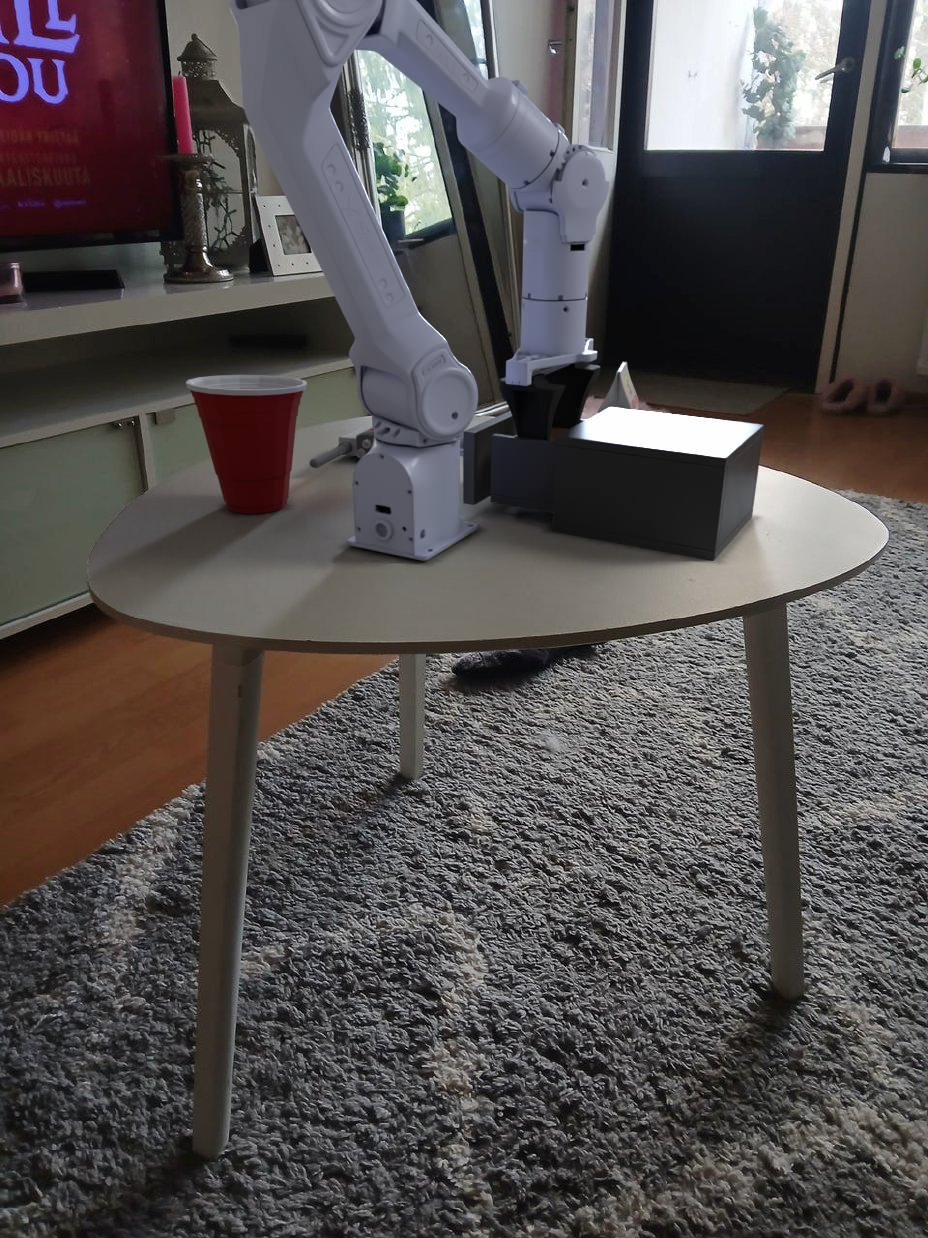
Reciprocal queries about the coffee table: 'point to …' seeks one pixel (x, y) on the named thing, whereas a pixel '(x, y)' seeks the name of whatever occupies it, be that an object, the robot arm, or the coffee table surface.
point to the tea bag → (621, 392)
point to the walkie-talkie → (348, 446)
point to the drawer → (507, 466)
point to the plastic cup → (250, 436)
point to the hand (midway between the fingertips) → (548, 450)
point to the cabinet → (656, 480)
